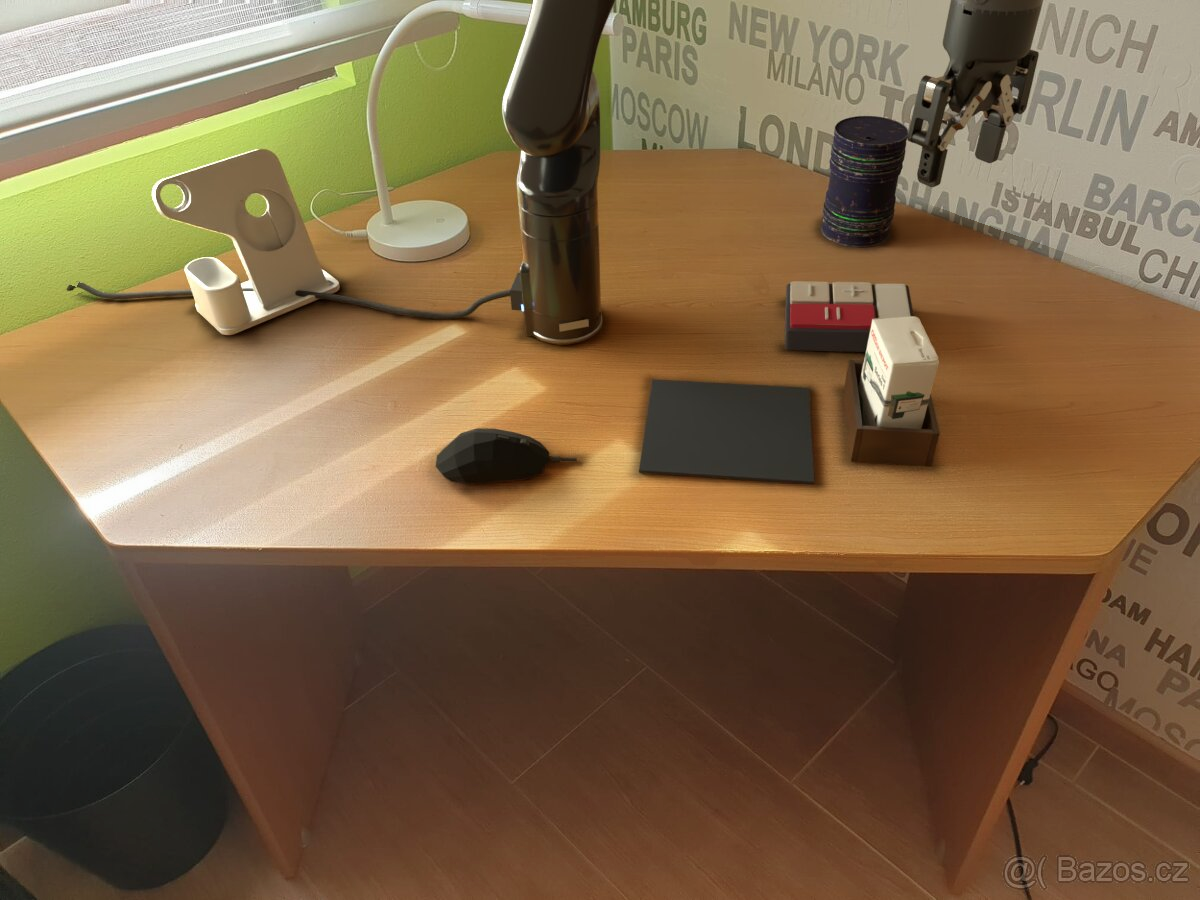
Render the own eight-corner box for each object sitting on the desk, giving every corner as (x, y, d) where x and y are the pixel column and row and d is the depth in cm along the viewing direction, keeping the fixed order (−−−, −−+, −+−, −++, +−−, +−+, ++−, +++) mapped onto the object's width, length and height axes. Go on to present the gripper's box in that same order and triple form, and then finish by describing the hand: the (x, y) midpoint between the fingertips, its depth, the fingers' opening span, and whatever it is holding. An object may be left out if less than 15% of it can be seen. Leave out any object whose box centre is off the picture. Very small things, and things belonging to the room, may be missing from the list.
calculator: (786, 277, 121) (909, 278, 119) (785, 306, 124) (905, 308, 122) (786, 324, 113) (917, 327, 111) (784, 354, 116) (912, 357, 113)
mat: (638, 473, 100) (638, 470, 99) (652, 381, 112) (652, 379, 111) (814, 484, 98) (814, 481, 97) (808, 390, 110) (809, 387, 109)
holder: (850, 461, 100) (857, 428, 97) (843, 391, 109) (848, 359, 106) (931, 466, 99) (940, 433, 96) (917, 395, 108) (924, 363, 105)
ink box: (852, 404, 107) (869, 314, 100) (896, 402, 107) (916, 312, 100) (872, 454, 101) (891, 362, 93) (919, 452, 101) (942, 360, 93)
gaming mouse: (578, 481, 99) (576, 451, 96) (434, 488, 99) (429, 459, 96) (576, 441, 104) (574, 413, 101) (439, 448, 103) (434, 420, 101)
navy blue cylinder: (826, 211, 143) (840, 112, 133) (894, 219, 140) (912, 119, 130) (814, 242, 136) (828, 140, 126) (885, 251, 133) (904, 148, 123)
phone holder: (222, 338, 121) (177, 207, 109) (190, 307, 127) (144, 180, 115) (343, 288, 129) (313, 162, 118) (307, 262, 135) (275, 138, 124)
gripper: (1012, -29, 88) (972, 141, 99) (908, 1, 82) (877, 178, 93) (1085, -12, 83) (1035, 165, 94) (980, 21, 77) (939, 206, 88)
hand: (957, 171), depth 93 cm, fingers open, 8 cm apart
